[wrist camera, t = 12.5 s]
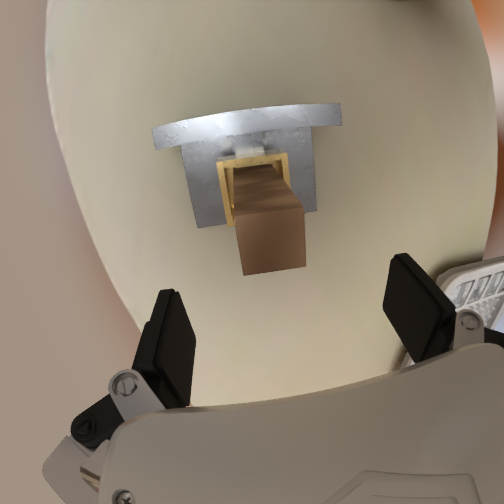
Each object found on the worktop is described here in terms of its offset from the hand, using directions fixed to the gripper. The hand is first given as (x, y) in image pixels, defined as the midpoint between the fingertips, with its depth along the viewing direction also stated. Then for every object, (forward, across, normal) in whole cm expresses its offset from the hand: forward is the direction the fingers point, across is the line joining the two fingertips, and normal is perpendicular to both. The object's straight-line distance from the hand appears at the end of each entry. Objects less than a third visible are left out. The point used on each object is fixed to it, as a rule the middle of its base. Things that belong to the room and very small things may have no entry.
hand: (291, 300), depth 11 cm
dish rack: (+26, -45, +37) cm, 63 cm away
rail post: (+20, 0, 0) cm, 20 cm away
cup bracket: (+26, 0, -1) cm, 26 cm away
